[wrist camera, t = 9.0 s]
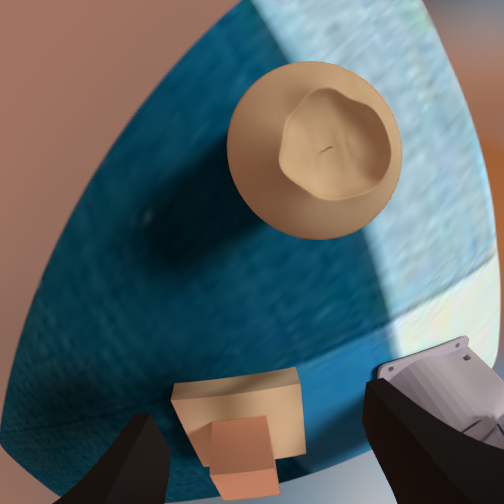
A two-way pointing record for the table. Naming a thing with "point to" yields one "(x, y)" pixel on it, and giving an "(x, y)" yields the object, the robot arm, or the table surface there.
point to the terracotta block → (243, 459)
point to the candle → (314, 150)
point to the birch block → (243, 408)
